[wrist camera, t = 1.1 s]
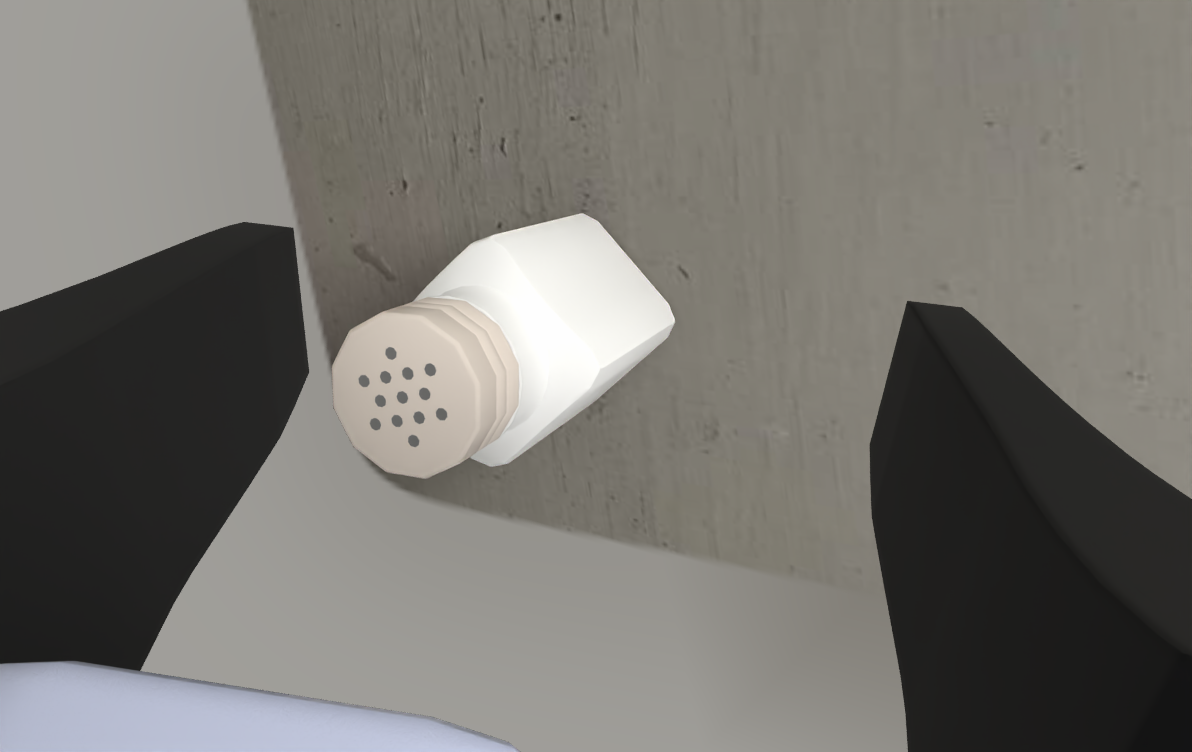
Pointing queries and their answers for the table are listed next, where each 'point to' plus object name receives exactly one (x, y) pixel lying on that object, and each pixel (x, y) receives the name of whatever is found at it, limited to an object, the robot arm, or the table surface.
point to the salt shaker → (497, 349)
